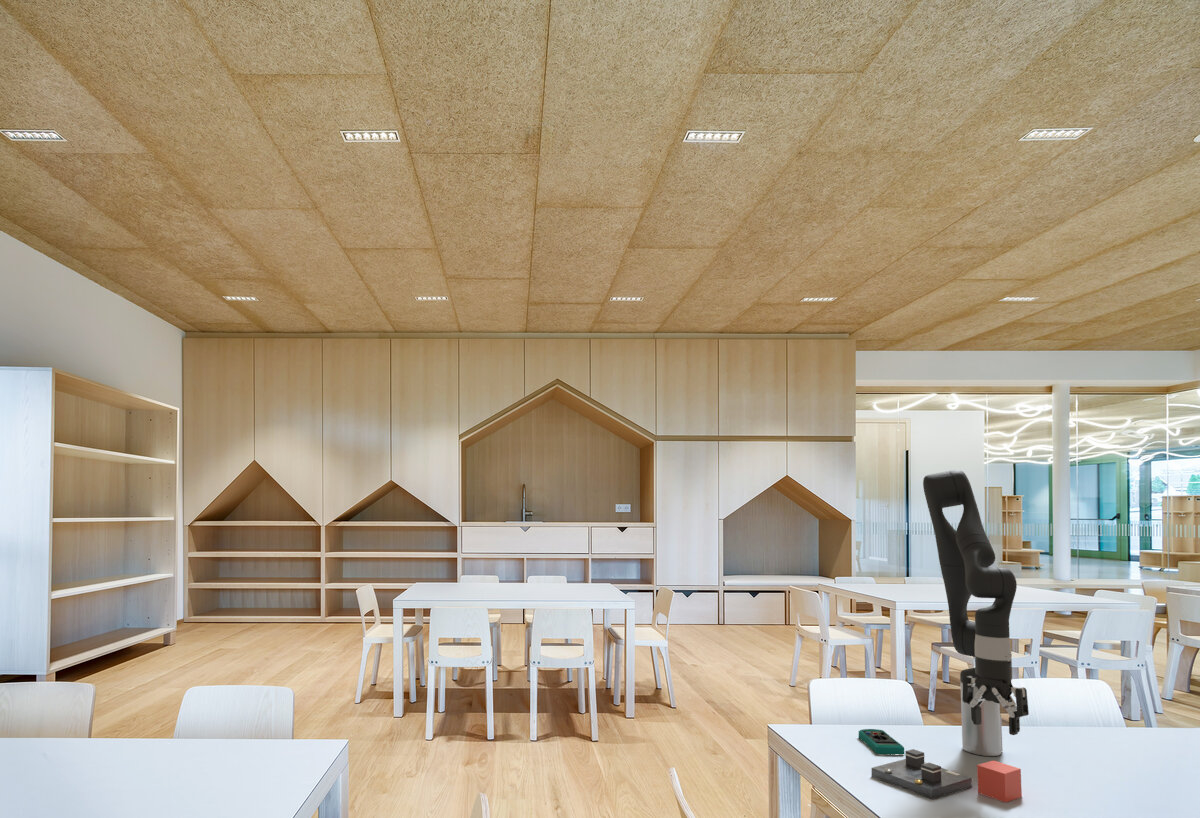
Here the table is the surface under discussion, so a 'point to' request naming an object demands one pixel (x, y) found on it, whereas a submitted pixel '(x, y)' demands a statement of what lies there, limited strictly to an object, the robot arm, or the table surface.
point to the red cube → (999, 781)
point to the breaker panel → (913, 781)
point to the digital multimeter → (880, 742)
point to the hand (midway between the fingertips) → (995, 729)
